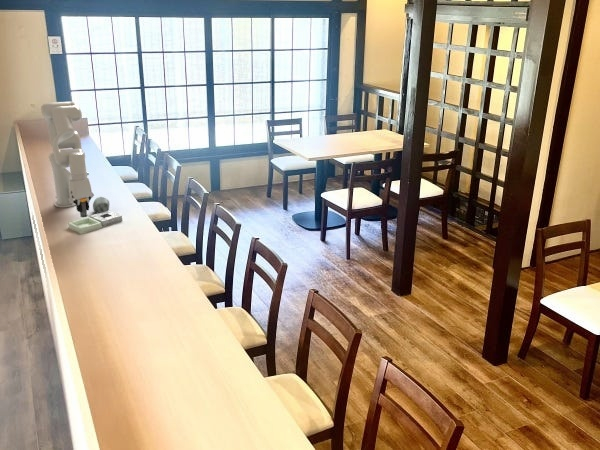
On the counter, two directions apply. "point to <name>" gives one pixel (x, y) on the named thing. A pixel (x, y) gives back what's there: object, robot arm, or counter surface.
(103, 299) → the counter surface
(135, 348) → the counter surface
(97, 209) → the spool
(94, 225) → the tray
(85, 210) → the pin
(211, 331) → the counter surface
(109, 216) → the grey slotted block
